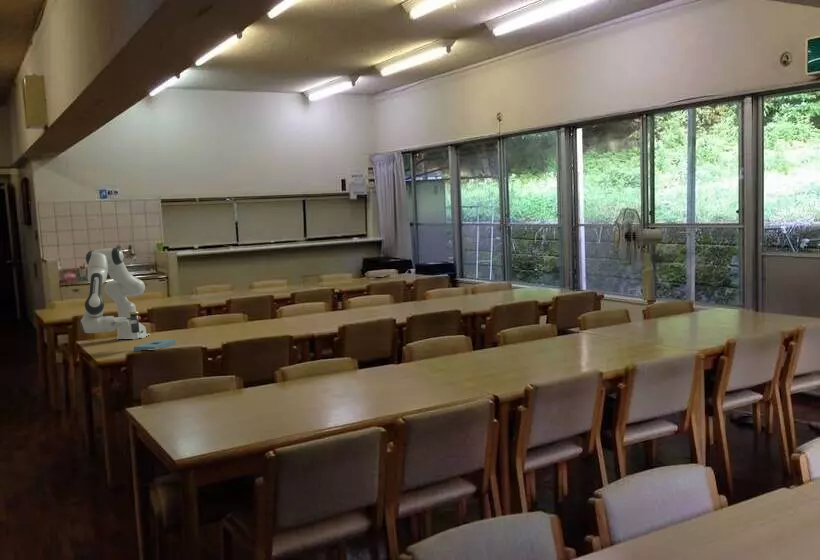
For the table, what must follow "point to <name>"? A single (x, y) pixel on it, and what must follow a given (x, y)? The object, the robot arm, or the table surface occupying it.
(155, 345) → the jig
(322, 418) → the table surface
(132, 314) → the dark grey cylinder
